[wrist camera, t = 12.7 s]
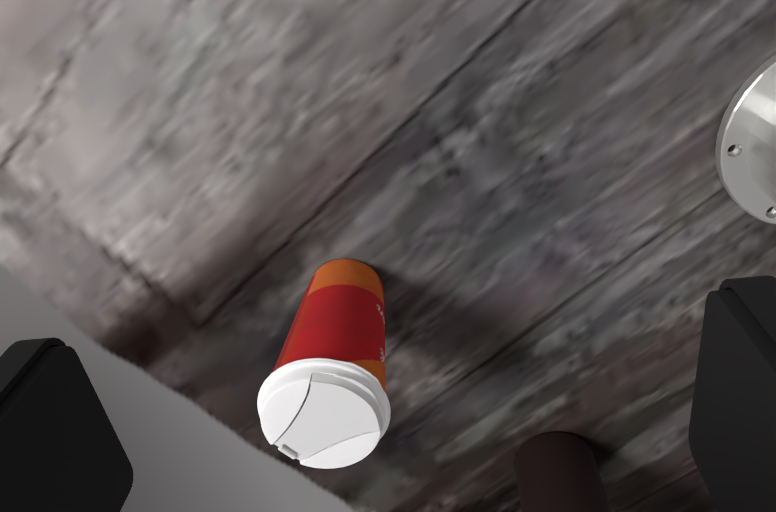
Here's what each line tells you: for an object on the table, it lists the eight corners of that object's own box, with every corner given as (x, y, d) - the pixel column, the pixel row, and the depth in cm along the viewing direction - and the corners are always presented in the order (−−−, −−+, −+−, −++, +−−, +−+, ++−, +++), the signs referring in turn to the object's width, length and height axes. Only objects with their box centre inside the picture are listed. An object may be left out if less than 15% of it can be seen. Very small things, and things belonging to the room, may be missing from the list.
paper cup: (351, 347, 49) (328, 493, 37) (275, 290, 47) (224, 426, 35) (420, 288, 46) (420, 427, 34) (342, 224, 44) (312, 348, 32)
